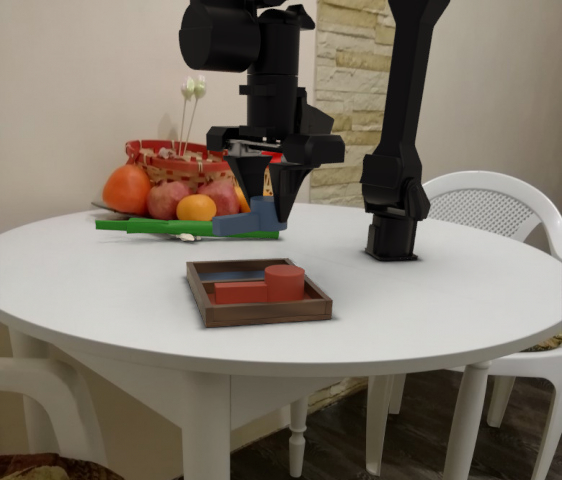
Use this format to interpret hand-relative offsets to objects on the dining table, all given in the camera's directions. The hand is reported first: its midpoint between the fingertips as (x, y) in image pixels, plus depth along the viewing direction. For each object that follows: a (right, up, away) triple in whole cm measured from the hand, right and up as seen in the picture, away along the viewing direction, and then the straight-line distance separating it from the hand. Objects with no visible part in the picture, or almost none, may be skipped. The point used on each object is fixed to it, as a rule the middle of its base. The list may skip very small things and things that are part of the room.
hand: (269, 219), depth 67 cm
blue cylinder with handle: (-2, -2, -1) cm, 3 cm away
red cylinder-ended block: (-1, -11, -4) cm, 11 cm away
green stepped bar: (-14, +3, +24) cm, 28 cm away
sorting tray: (-2, -10, -1) cm, 10 cm away
